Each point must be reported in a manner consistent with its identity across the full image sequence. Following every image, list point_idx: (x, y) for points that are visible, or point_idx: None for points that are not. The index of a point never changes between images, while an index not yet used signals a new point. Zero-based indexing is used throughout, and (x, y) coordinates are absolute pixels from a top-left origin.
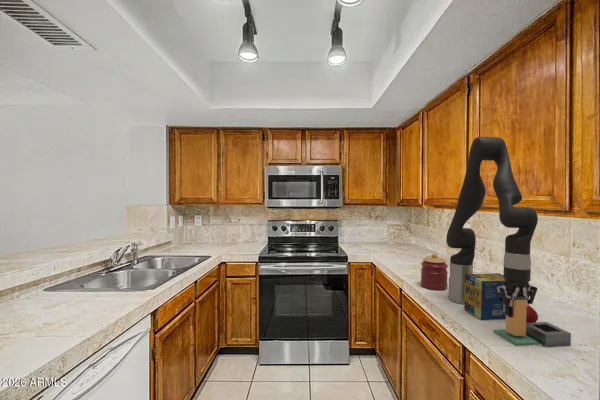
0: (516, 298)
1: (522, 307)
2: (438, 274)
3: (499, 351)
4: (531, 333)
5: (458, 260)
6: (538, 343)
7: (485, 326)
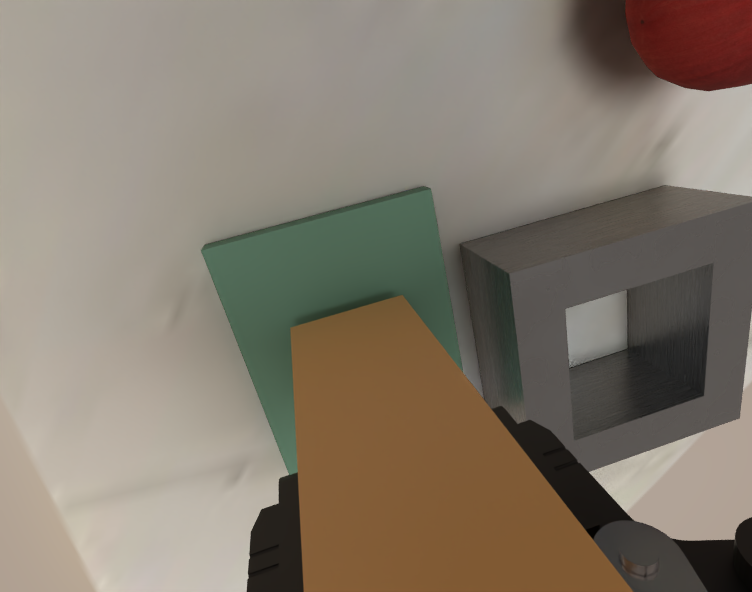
0: None
1: None
2: None
3: (130, 569)
4: (492, 347)
5: None
6: None
7: (163, 100)
